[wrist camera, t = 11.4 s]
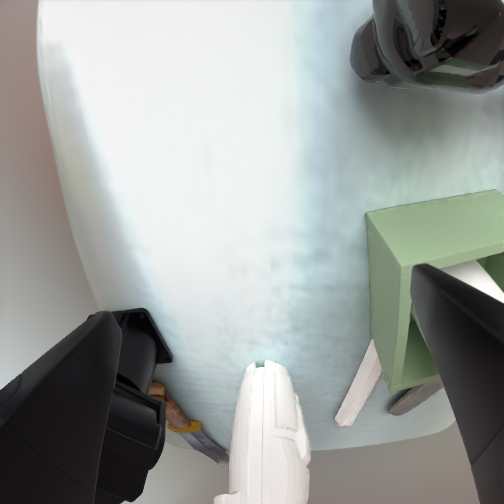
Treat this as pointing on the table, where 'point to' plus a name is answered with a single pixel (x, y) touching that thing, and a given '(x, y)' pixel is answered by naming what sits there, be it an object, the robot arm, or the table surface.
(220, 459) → the knife
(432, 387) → the stone
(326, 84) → the table surface
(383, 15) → the cat figurine
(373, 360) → the marker
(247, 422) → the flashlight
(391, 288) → the bin
